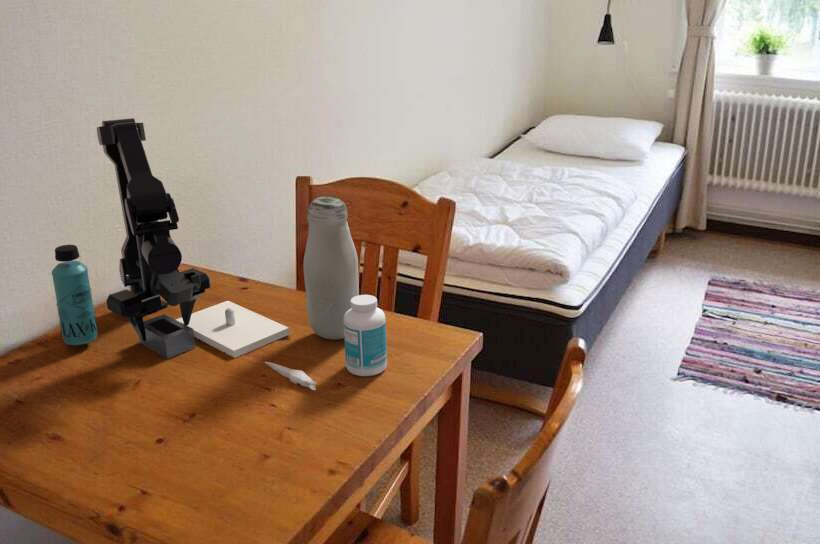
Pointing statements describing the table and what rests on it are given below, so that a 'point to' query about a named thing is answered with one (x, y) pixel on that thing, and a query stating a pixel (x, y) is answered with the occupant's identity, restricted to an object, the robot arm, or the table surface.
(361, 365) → the pill bottle
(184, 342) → the steel link
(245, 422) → the table surface
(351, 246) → the glass bottle
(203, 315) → the keeper board
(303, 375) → the white elongated figurine
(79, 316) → the beverage bottle
